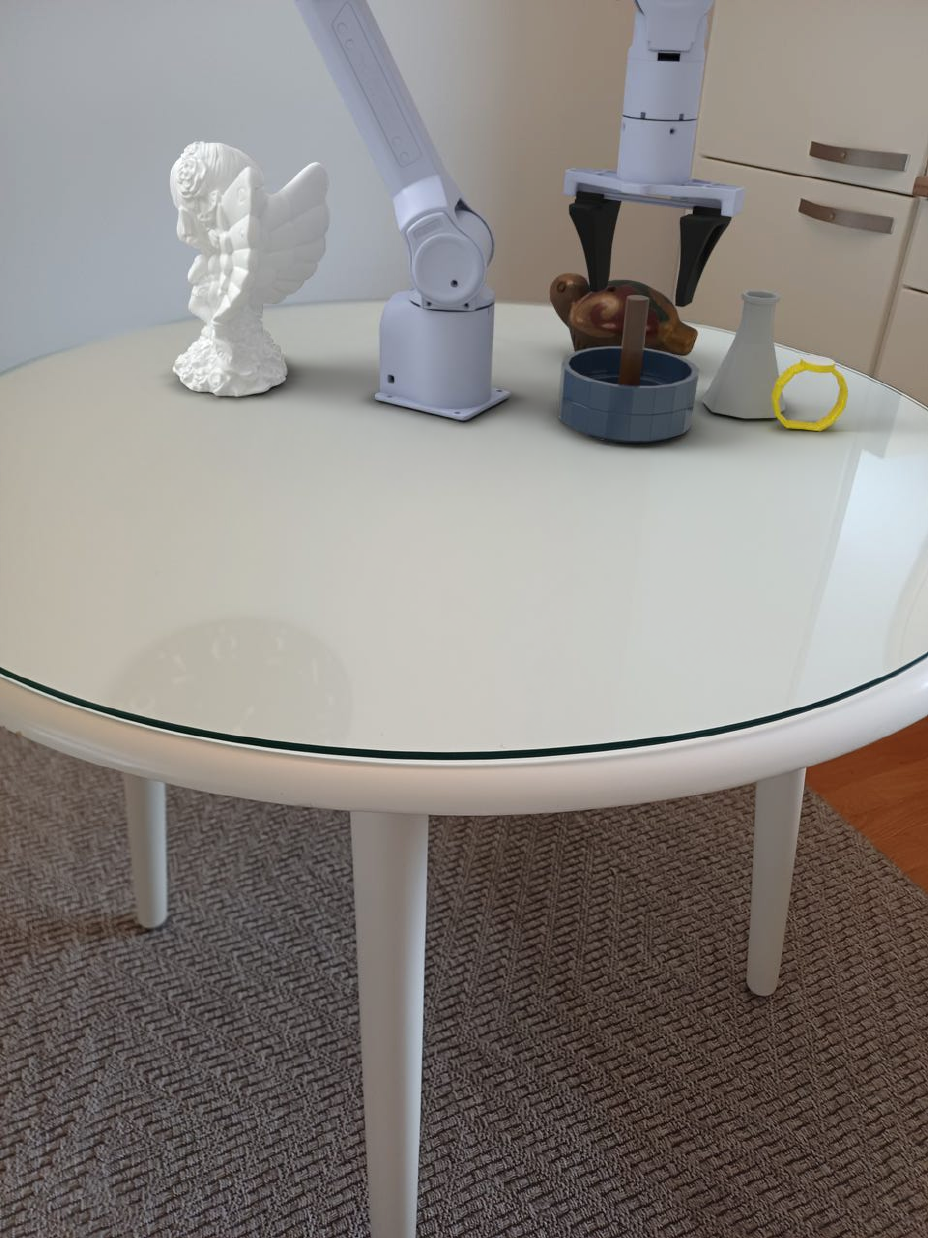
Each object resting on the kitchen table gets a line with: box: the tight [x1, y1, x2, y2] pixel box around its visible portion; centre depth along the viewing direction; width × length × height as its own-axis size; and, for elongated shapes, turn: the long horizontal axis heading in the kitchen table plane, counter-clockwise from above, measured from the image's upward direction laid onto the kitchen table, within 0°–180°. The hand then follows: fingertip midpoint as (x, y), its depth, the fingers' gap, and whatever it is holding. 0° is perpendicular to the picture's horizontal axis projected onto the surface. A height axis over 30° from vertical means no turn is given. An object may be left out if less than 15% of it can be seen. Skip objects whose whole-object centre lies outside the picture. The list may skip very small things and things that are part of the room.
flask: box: [701, 289, 786, 419], centre depth 94 cm, size 7×7×10 cm
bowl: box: [557, 346, 700, 444], centre depth 91 cm, size 11×11×5 cm
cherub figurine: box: [169, 140, 331, 398], centre depth 96 cm, size 13×12×20 cm
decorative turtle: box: [549, 272, 699, 357], centre depth 106 cm, size 10×15×8 cm, turn 70°
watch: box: [771, 354, 849, 432], centre depth 91 cm, size 6×3×6 cm, turn 89°
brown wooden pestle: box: [618, 295, 649, 386], centre depth 90 cm, size 4×4×10 cm
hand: (640, 296), depth 90 cm, fingers open, 7 cm apart
